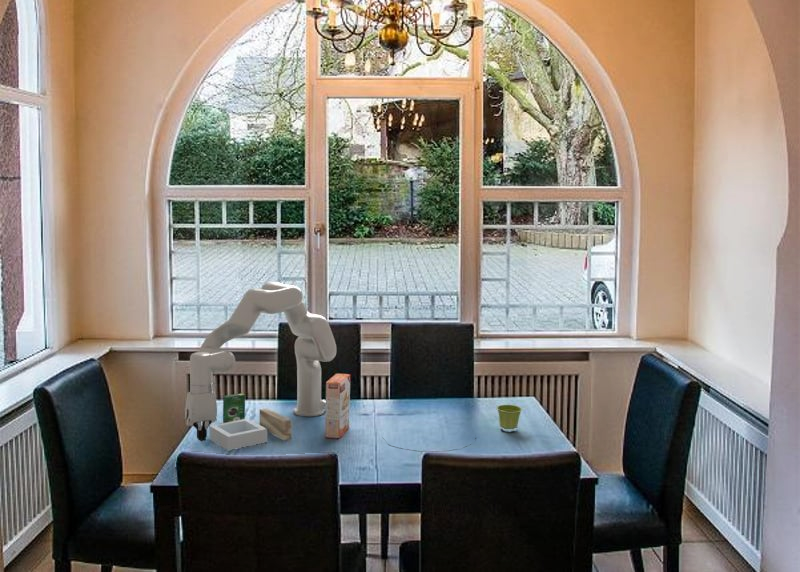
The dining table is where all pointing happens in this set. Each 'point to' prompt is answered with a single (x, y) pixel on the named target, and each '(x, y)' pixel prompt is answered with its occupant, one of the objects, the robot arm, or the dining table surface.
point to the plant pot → (509, 416)
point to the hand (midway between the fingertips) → (201, 439)
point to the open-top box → (237, 434)
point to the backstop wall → (275, 423)
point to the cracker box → (337, 405)
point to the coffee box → (233, 407)
